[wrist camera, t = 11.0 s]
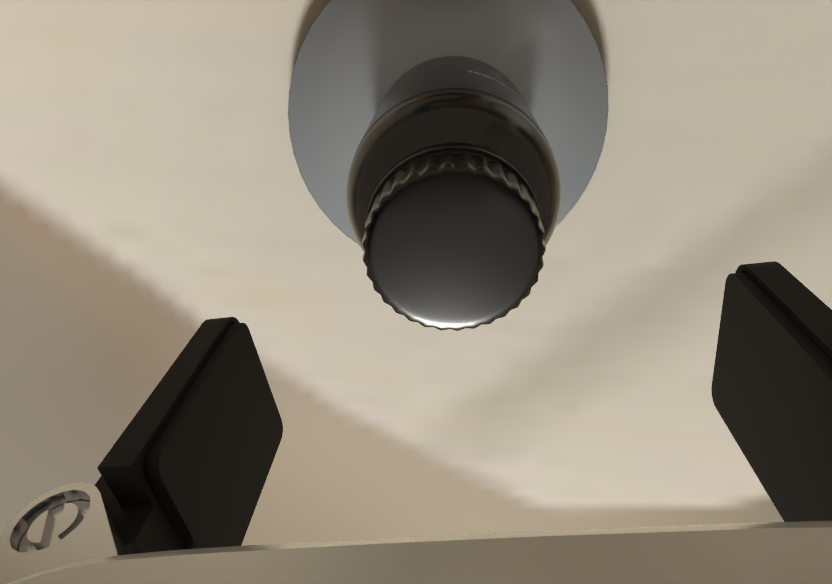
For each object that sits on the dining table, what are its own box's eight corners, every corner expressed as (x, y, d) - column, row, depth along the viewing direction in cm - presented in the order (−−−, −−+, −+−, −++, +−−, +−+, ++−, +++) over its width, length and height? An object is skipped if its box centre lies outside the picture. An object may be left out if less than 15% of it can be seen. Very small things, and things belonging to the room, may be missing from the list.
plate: (603, -85, 21) (612, -88, 20) (599, 242, 28) (605, 252, 27) (255, -21, 23) (246, -20, 22) (333, 274, 30) (329, 285, 29)
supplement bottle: (533, 48, 23) (611, 119, 12) (523, 205, 26) (578, 363, 16) (366, 54, 23) (306, 128, 13) (378, 208, 26) (339, 365, 16)
